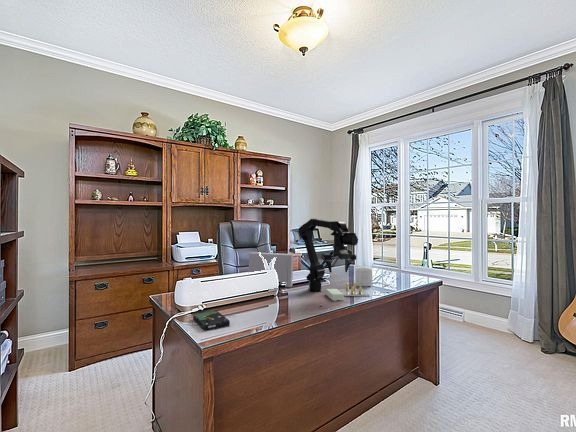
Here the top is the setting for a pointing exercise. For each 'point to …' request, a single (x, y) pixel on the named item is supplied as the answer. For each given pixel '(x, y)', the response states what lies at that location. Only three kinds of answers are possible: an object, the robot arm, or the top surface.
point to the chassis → (353, 291)
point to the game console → (281, 265)
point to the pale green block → (334, 294)
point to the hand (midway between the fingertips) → (338, 272)
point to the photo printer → (363, 276)
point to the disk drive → (211, 320)
